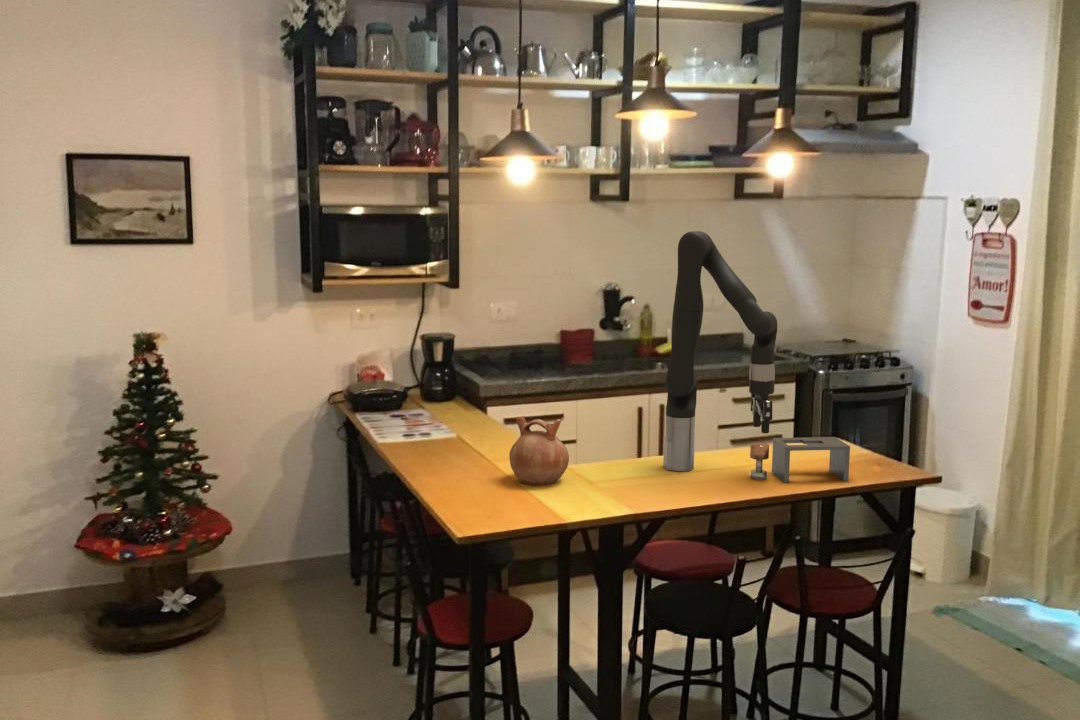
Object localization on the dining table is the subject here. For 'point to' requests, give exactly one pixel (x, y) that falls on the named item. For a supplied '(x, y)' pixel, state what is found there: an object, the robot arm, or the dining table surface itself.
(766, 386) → the robot arm
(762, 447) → the keyhole peg
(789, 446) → the keyhole bridge
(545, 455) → the jug
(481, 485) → the dining table surface
